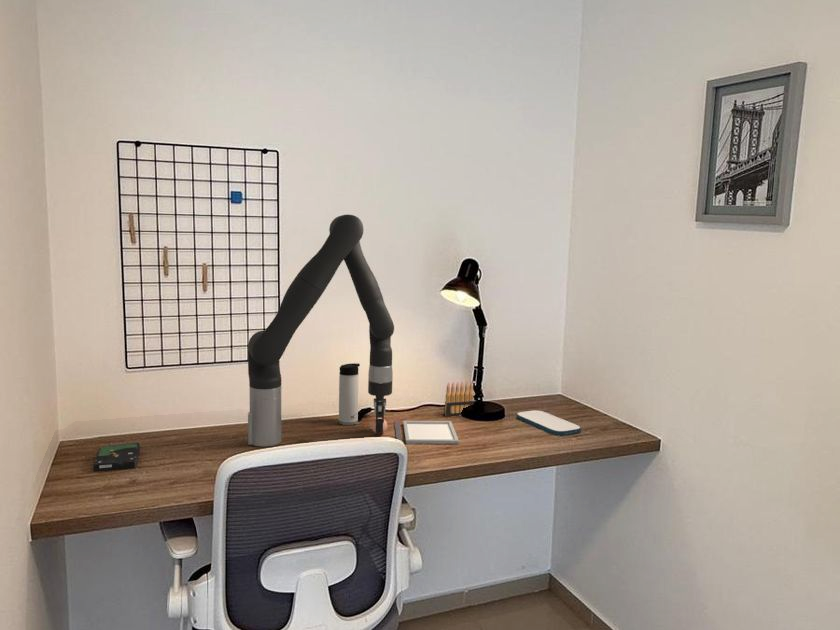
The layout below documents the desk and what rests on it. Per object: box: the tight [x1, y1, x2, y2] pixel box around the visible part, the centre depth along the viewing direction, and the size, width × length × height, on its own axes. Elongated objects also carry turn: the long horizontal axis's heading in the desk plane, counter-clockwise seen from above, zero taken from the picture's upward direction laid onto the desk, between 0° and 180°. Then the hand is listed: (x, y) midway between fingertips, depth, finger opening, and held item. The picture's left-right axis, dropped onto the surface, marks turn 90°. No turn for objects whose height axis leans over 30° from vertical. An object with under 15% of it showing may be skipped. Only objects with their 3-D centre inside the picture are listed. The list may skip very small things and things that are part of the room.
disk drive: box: [93, 442, 141, 473], centre depth 180 cm, size 10×3×15 cm
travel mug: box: [338, 362, 361, 426], centre depth 219 cm, size 6×7×20 cm
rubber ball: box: [370, 418, 388, 434], centre depth 210 cm, size 5×5×5 cm
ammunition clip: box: [443, 381, 475, 418], centre depth 232 cm, size 11×2×12 cm, turn 111°
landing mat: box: [394, 420, 460, 445], centre depth 211 cm, size 19×22×1 cm
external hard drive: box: [516, 409, 582, 437], centre depth 225 cm, size 24×12×2 cm, turn 29°
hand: (379, 431), depth 210 cm, fingers closed on rubber ball, 5 cm apart
